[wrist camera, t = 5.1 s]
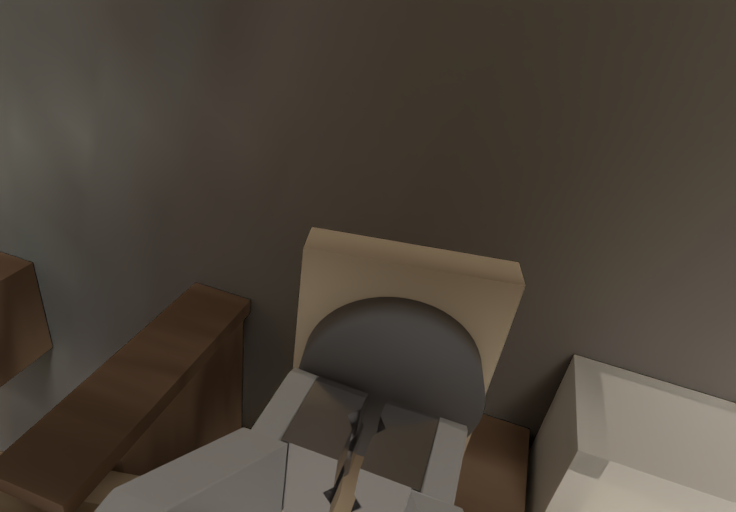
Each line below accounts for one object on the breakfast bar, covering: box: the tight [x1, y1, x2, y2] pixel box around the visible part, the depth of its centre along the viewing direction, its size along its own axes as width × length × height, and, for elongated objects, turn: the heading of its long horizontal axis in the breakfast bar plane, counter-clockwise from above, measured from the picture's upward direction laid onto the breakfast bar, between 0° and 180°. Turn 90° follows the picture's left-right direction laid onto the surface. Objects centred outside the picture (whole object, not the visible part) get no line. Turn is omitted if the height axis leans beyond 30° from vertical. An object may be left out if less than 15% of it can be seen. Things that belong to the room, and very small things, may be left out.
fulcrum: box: [0, 252, 530, 512], centre depth 19 cm, size 9×25×9 cm, turn 81°
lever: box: [0, 227, 525, 512], centre depth 12 cm, size 15×24×4 cm, turn 81°
